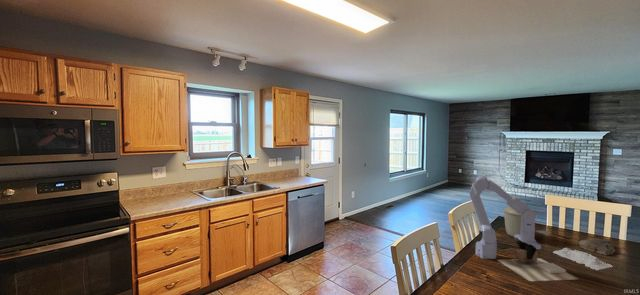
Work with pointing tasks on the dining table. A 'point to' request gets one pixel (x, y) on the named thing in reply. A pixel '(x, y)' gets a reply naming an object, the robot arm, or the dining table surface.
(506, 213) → the canister
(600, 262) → the terrain model
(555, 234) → the cleaver
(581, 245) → the clay tablet
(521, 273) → the board
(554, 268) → the tile
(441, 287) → the dining table surface
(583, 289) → the dining table surface
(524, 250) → the brown rectangular block
